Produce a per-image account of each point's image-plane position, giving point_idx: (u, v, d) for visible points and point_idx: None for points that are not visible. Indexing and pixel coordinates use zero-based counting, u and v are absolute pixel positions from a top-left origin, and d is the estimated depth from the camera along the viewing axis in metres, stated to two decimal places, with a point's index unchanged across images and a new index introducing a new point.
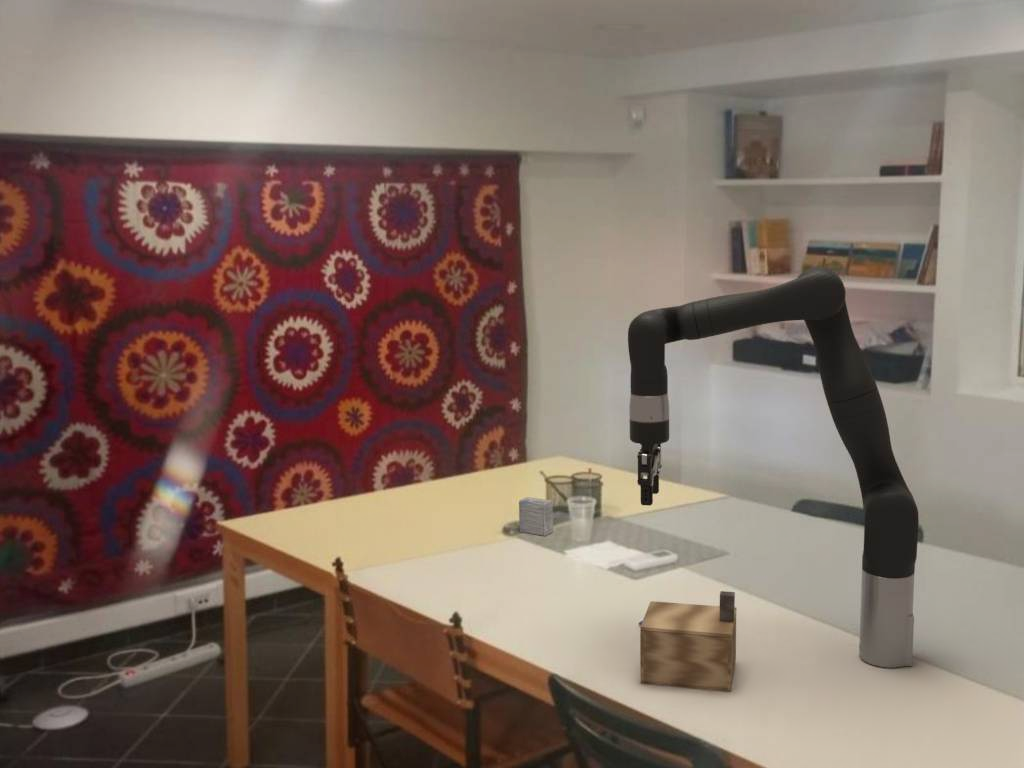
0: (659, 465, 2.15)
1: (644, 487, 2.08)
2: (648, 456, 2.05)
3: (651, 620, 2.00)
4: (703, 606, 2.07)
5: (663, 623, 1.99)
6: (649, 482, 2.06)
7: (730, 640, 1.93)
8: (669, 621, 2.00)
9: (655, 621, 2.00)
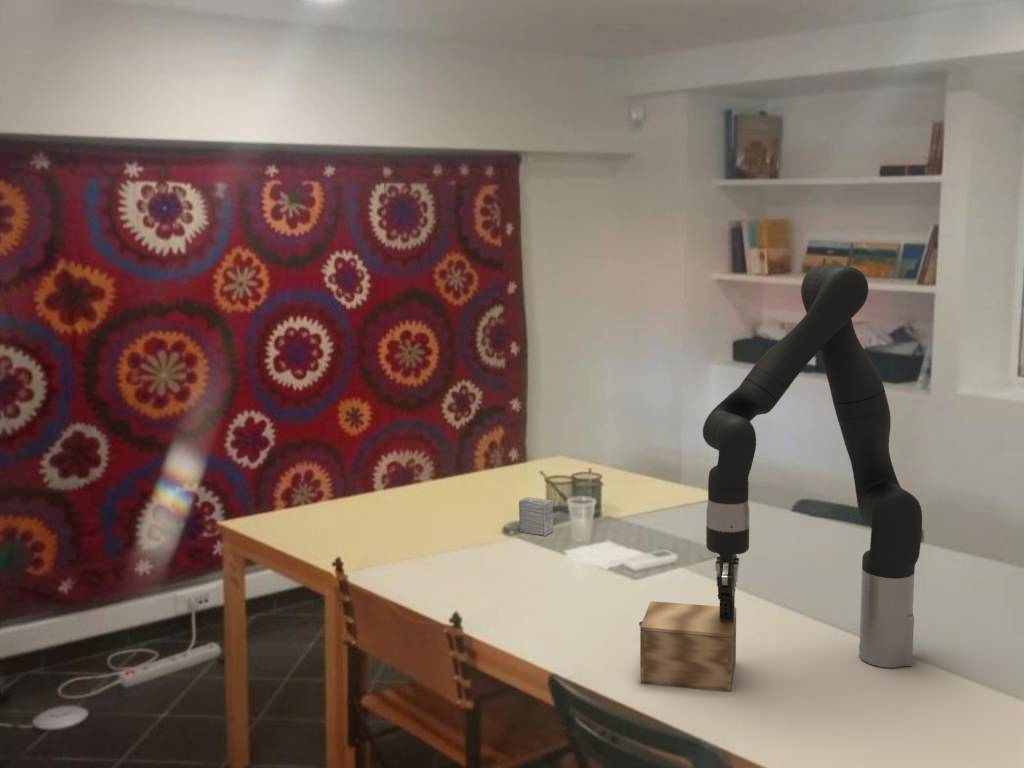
0: None
1: (724, 601, 1.97)
2: (729, 580, 1.92)
3: (651, 620, 2.00)
4: (703, 606, 2.07)
5: (663, 623, 1.99)
6: (730, 599, 1.95)
7: (730, 640, 1.93)
8: (669, 621, 2.00)
9: (655, 621, 2.00)
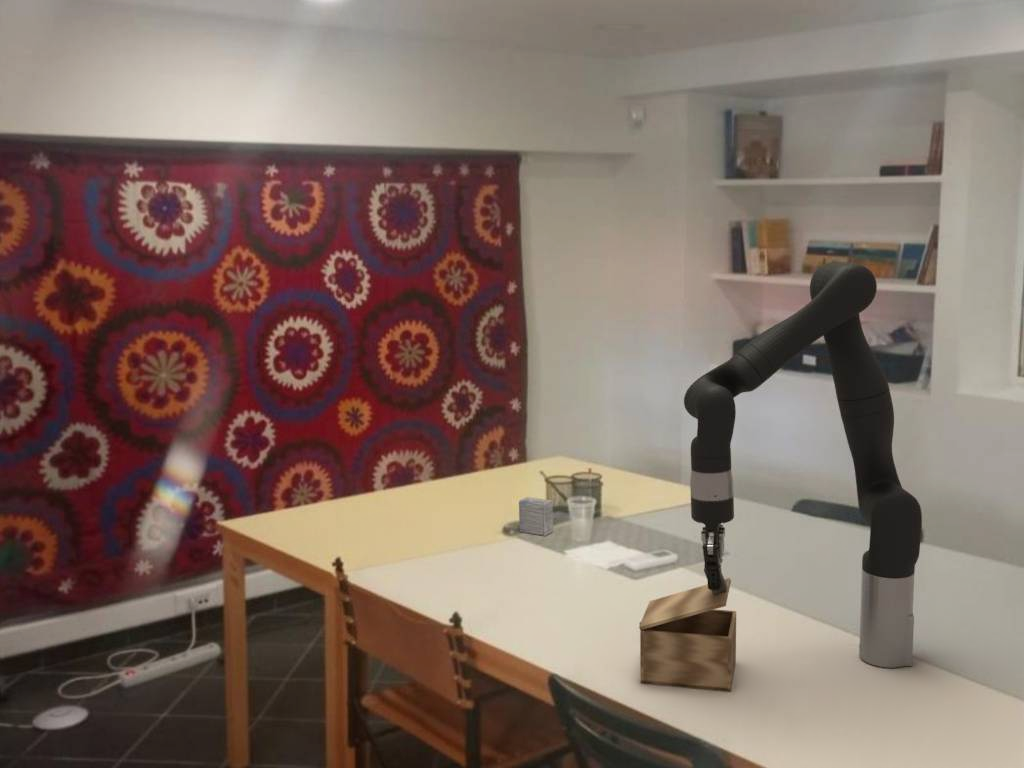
0: (722, 548, 1.99)
1: (711, 571, 1.96)
2: (714, 549, 1.92)
3: (649, 617, 2.00)
4: (698, 587, 2.06)
5: (660, 616, 1.99)
6: (717, 568, 1.94)
7: (730, 640, 1.93)
8: (666, 612, 2.00)
9: (653, 617, 2.00)
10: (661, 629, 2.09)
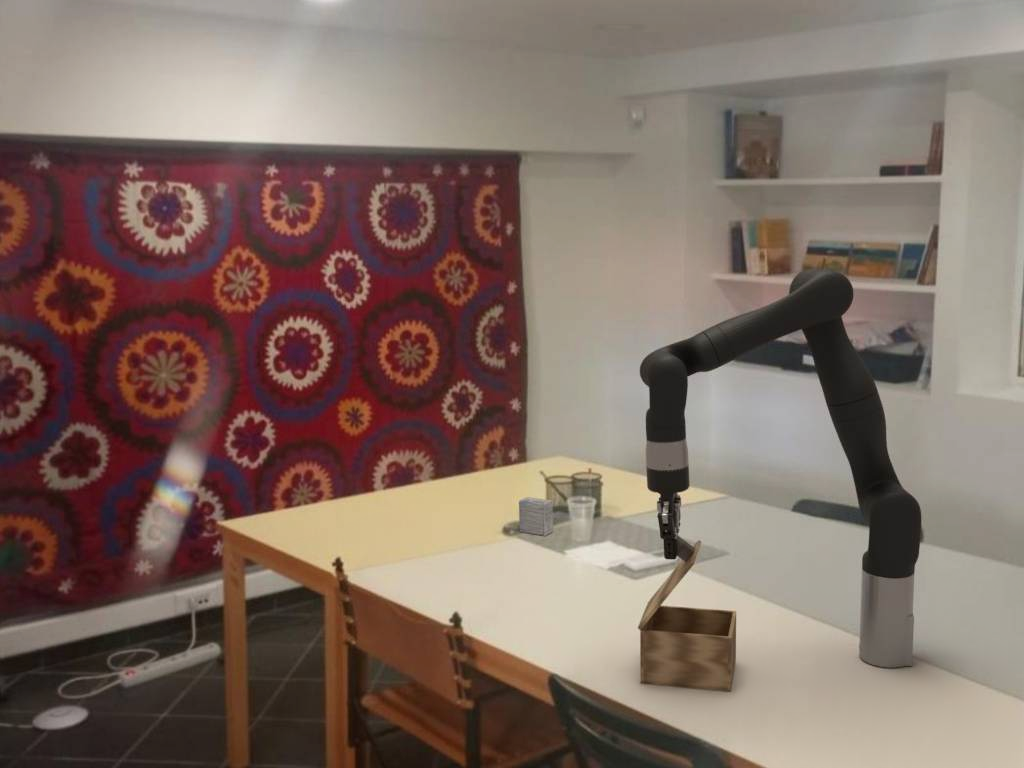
0: (678, 518, 2.00)
1: (667, 540, 1.98)
2: (669, 517, 1.93)
3: (645, 614, 2.00)
4: None
5: (652, 607, 1.99)
6: (673, 537, 1.95)
7: (730, 640, 1.93)
8: (656, 601, 2.00)
9: (647, 612, 2.00)
10: (661, 629, 2.09)
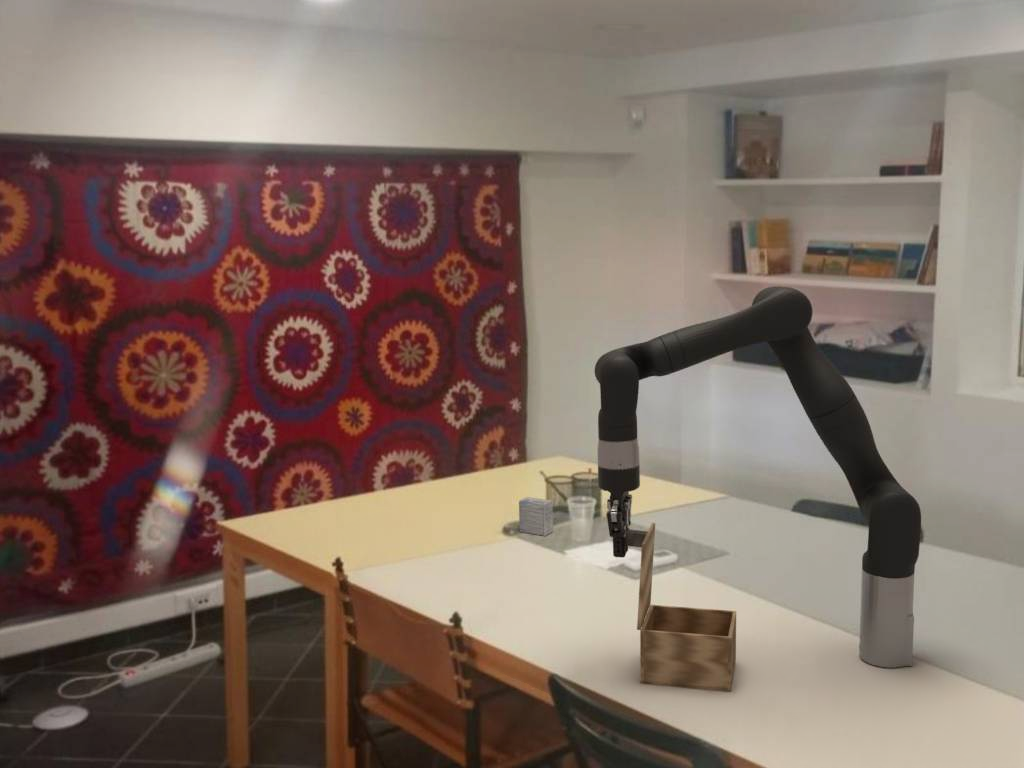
0: (628, 517, 2.02)
1: (616, 539, 2.00)
2: (617, 516, 1.95)
3: None
4: None
5: None
6: (621, 536, 1.98)
7: (730, 640, 1.93)
8: None
9: None
10: (661, 629, 2.09)
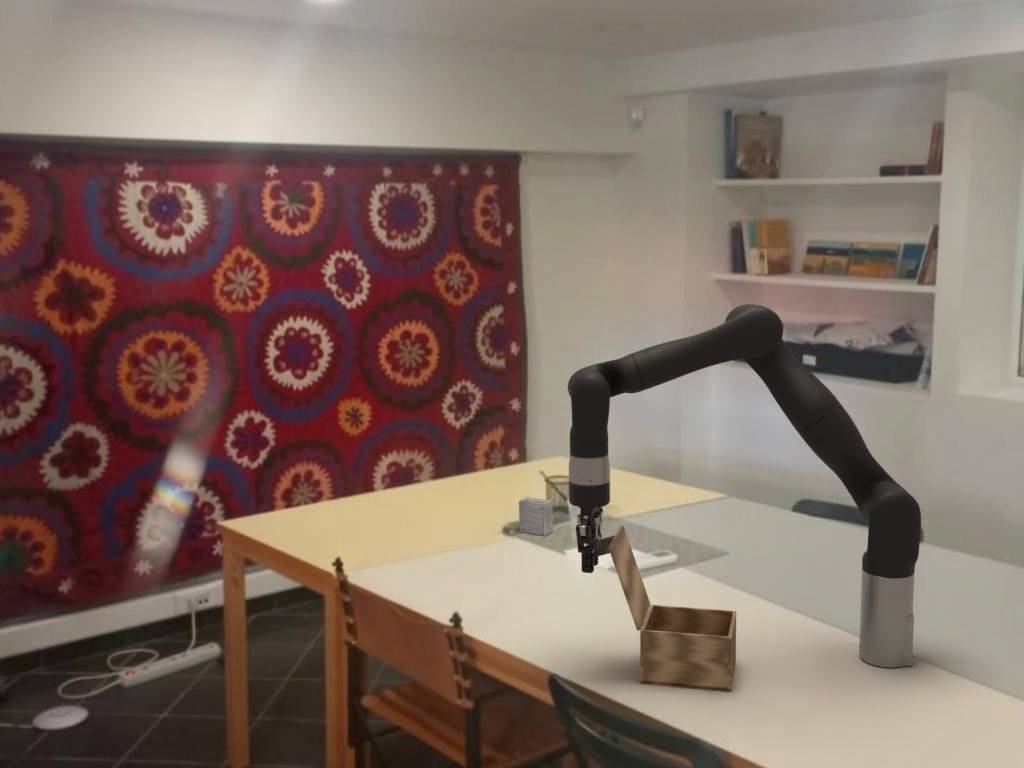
0: (599, 532, 2.05)
1: (585, 554, 2.01)
2: (586, 529, 1.97)
3: None
4: None
5: None
6: (589, 551, 1.99)
7: (730, 640, 1.93)
8: None
9: None
10: (661, 629, 2.09)
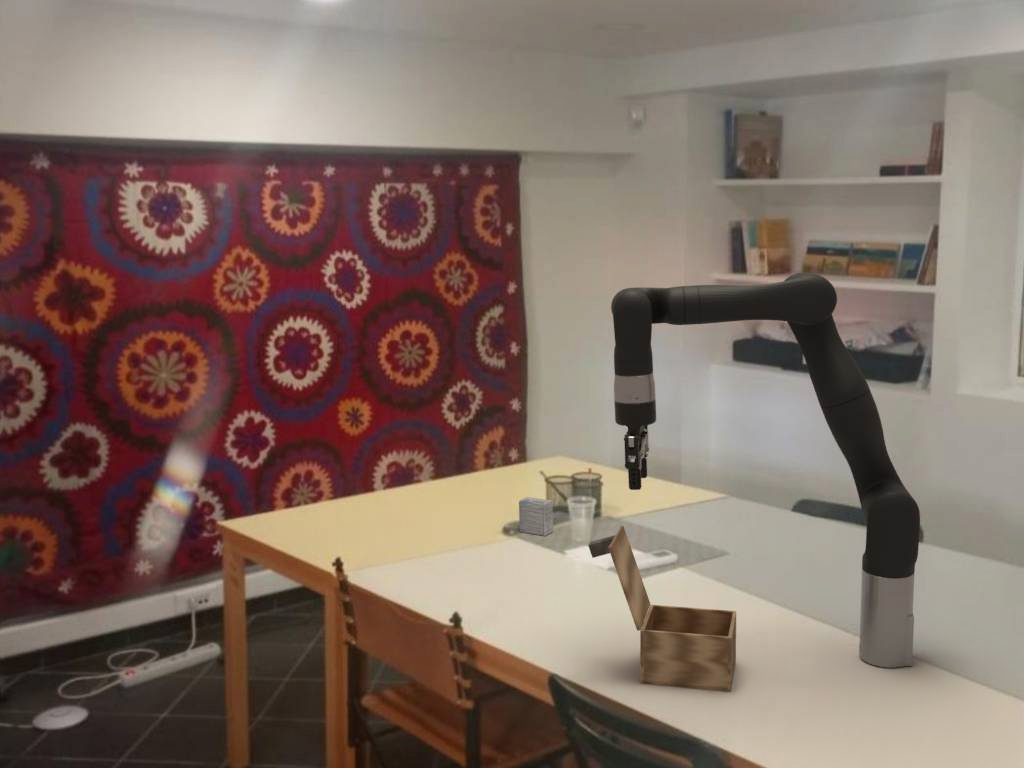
0: (647, 448, 2.07)
1: (632, 471, 2.00)
2: (635, 438, 1.97)
3: None
4: None
5: None
6: (637, 465, 1.98)
7: (730, 640, 1.93)
8: None
9: None
10: (661, 629, 2.09)
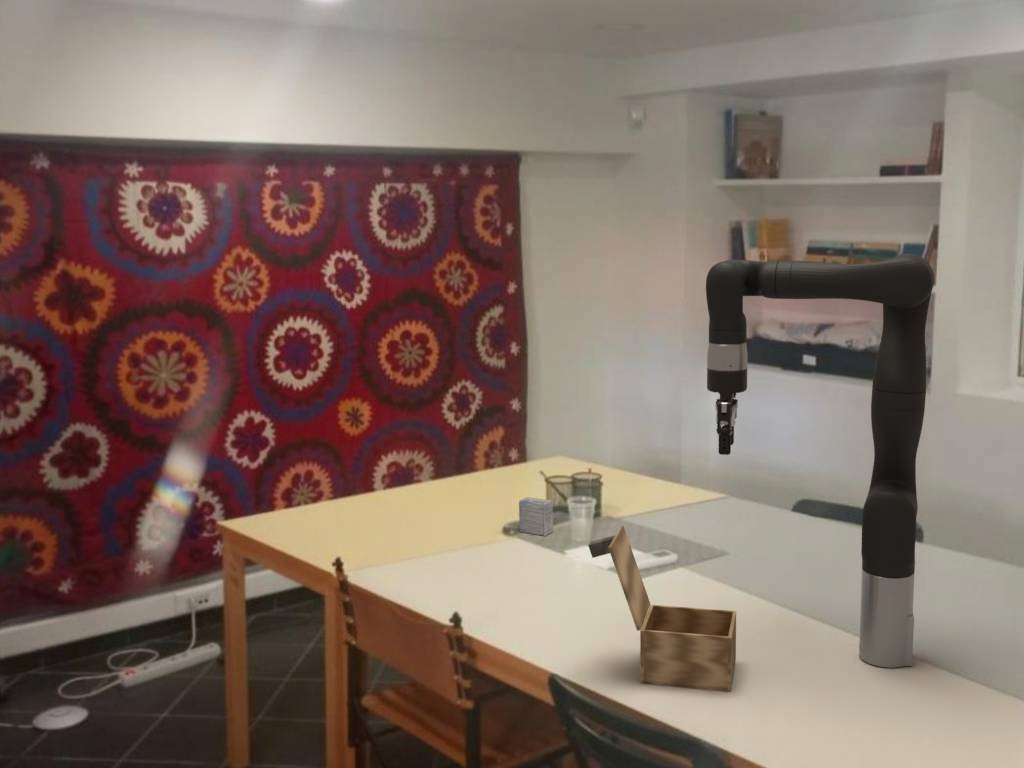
0: (735, 416, 2.14)
1: (723, 436, 2.07)
2: (728, 404, 2.04)
3: None
4: None
5: None
6: (729, 430, 2.05)
7: (730, 640, 1.93)
8: None
9: None
10: (661, 629, 2.09)
